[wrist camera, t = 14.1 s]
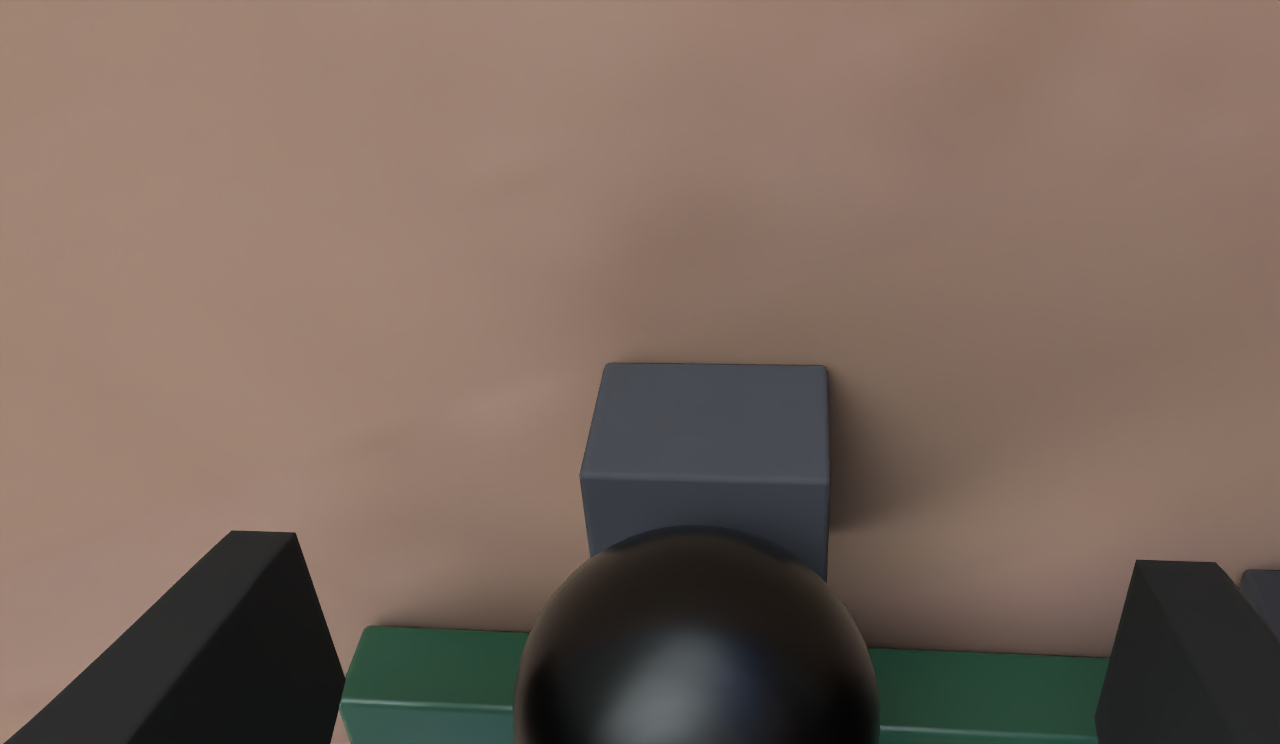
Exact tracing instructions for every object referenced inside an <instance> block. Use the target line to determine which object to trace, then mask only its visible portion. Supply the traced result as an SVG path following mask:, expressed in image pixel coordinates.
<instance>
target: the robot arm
mask: <svg viewBox="0 0 1280 744" xmlns="http://www.w3.org/2000/svg"><path fill="white" fill-rule="evenodd" d="M345 681H346V679H345V676H344V673H343V671H342V668H341V665H340V662H339V659H338V656H337V653H336V650H335V647H334V644H333V641H332V638H331V635H330V632H329V629H328V627H327V624H326V621H325V618H324V615H323V612H322V609H321V606H320V603H319V600H318V597H317V594H316V591H315V588H314V585H313V583H312V580H311V577H310V574H309V571H308V568H307V565H306V562H305V559H304V556H303V553H302V550H301V547H300V544H299V541H298V539H297V536H296V533H291V532H260V531H231V532H230V533H229V534H227V535H226V536H225V537H224V538H223V539H222V540H221V541H220V542H219V543H218V544H216V545H215V546H214V547H213V548H212V549H211V550H210V551H209V552H208V553H207V554H206V555H205V556H204V557H203V558H201V559H200V560H199V561H198V562H197V563H196V564H195V565H194V566H193V567H192V568H191V569H190V570H189V571H188V572H187V573H186V574H185V575H184V576H183V577H182V578H181V579H180V580H178V581H177V582H176V583H175V584H174V585H173V586H172V587H171V588H170V589H169V590H168V591H167V592H166V593H165V594H164V595H163V596H162V597H161V598H160V599H159V600H158V601H157V602H156V603H155V604H154V605H153V606H152V607H150V608H149V609H148V610H147V611H146V612H145V613H144V614H143V615H142V616H141V617H140V618H139V619H138V620H137V621H136V622H135V623H134V624H133V625H132V626H131V627H130V628H129V629H128V630H126V631H125V632H124V633H123V634H122V635H121V636H120V637H119V638H118V639H117V640H116V641H115V642H114V643H113V644H112V645H111V646H110V647H109V648H108V649H107V650H105V651H104V652H103V653H102V654H101V655H100V656H99V657H98V658H97V659H96V660H95V661H94V662H93V663H92V664H90V665H89V666H88V667H87V668H86V669H85V670H84V671H83V672H82V673H81V674H80V675H79V676H78V677H77V678H75V679H74V680H73V681H72V682H71V683H70V684H69V685H68V686H67V687H66V688H65V689H64V690H63V691H62V692H61V693H59V694H58V695H57V696H56V697H55V698H54V699H53V700H52V701H51V702H50V703H49V704H48V705H47V706H45V707H44V708H43V709H42V710H41V711H40V712H39V713H38V714H37V715H36V716H35V717H34V718H32V719H31V720H30V721H29V722H28V723H27V724H26V725H25V726H23V727H22V728H21V729H20V730H19V731H18V732H16V733H15V734H14V735H13V736H12V737H11V738H10V739H8V740H7V741H6V742H5V743H4V744H330V742H331V738H332V734H333V730H334V726H335V722H336V718H337V714H338V710H339V706H340V702H341V698H342V693H343V689H344V685H345ZM1094 718H1095V725H1096V732H1097V739H1098V744H1280V640H1279V639H1278V638H1277V637H1276V635H1275V634H1274V633H1273V632H1272V630H1271V629H1270V628H1269V627H1268V625H1267V624H1266V623H1265V622H1264V620H1263V619H1262V618H1261V617H1260V615H1259V614H1258V613H1257V612H1256V610H1255V609H1254V608H1253V606H1252V605H1251V604H1250V603H1249V601H1248V600H1247V599H1246V598H1245V596H1244V595H1243V594H1242V593H1241V591H1240V590H1239V589H1238V588H1237V586H1236V585H1235V584H1234V583H1233V581H1232V580H1231V579H1230V578H1229V576H1228V575H1227V574H1226V573H1225V572H1224V571H1223V570H1222V569H1221V568H1220V567H1219V566H1218V565H1217V564H1216V562H1188V561H1157V560H1136V563H1135V566H1134V570H1133V574H1132V578H1131V581H1130V585H1129V589H1128V593H1127V596H1126V600H1125V604H1124V608H1123V611H1122V615H1121V619H1120V623H1119V626H1118V630H1117V634H1116V638H1115V641H1114V645H1113V649H1112V653H1111V656H1110V660H1109V664H1108V668H1107V671H1106V675H1105V679H1104V683H1103V686H1102V690H1101V694H1100V698H1099V701H1098V705H1097V709H1096V713H1095V717H1094Z"/></svg>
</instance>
